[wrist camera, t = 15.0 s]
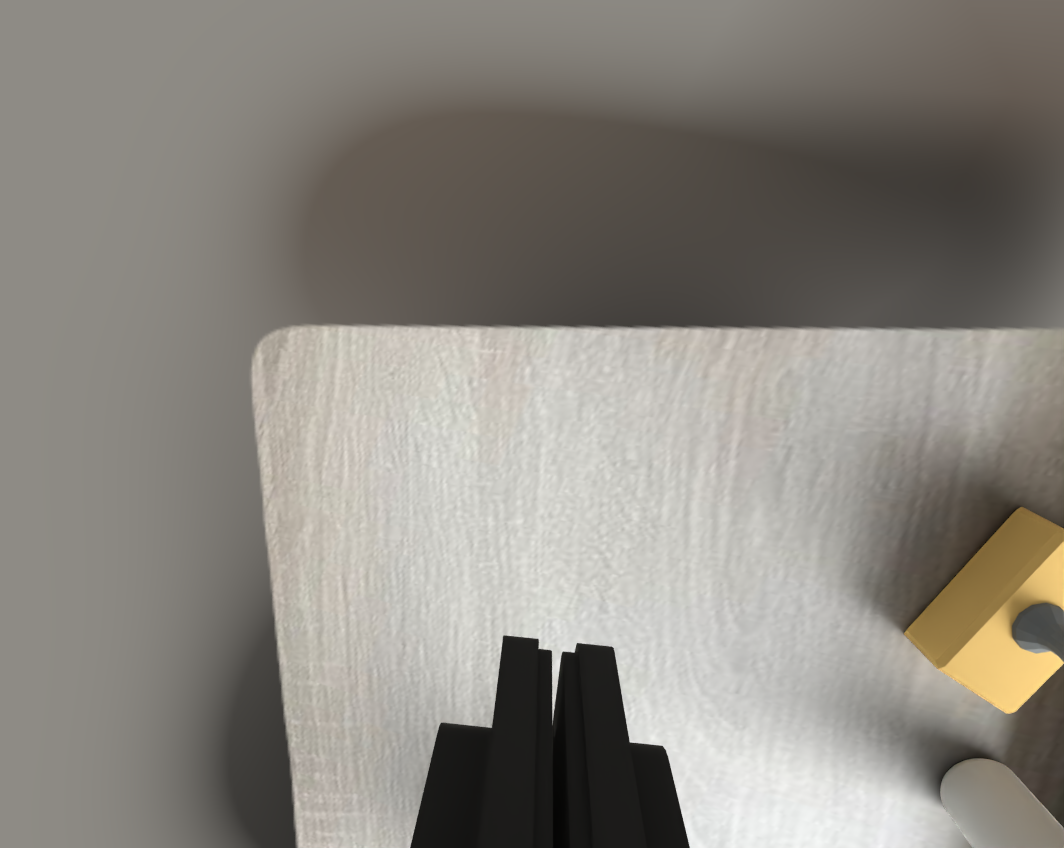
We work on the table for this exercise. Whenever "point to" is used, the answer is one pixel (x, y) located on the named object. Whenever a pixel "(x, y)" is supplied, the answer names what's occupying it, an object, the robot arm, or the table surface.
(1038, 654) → the rubber stamp
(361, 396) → the table surface
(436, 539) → the table surface
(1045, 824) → the beverage can
